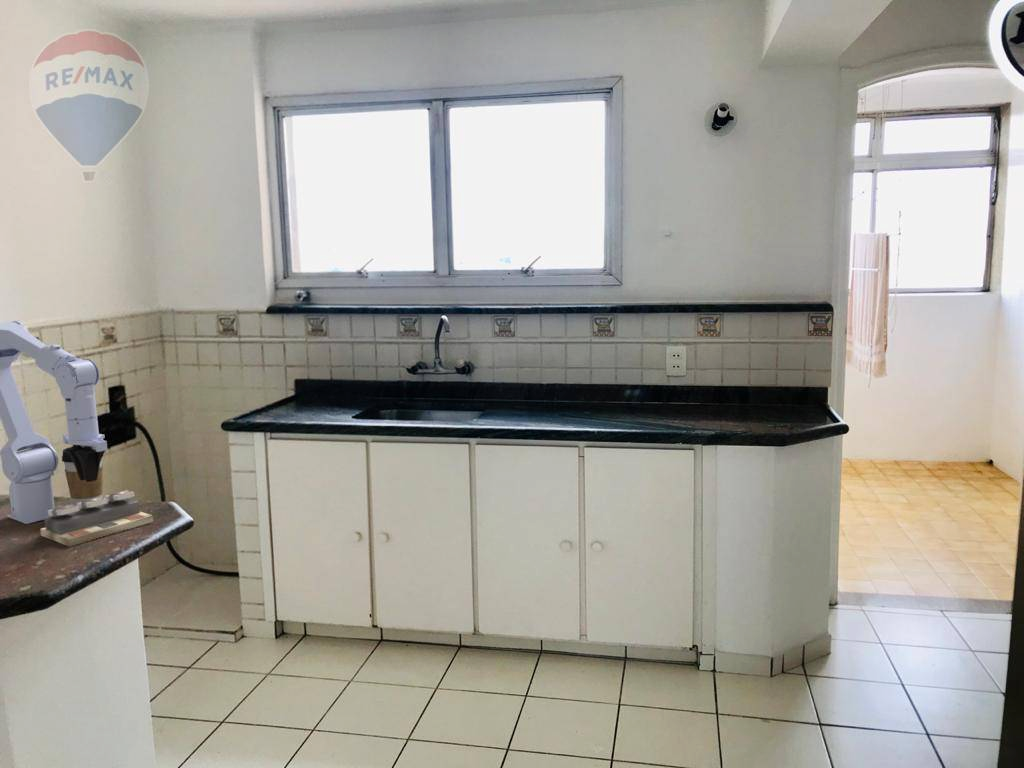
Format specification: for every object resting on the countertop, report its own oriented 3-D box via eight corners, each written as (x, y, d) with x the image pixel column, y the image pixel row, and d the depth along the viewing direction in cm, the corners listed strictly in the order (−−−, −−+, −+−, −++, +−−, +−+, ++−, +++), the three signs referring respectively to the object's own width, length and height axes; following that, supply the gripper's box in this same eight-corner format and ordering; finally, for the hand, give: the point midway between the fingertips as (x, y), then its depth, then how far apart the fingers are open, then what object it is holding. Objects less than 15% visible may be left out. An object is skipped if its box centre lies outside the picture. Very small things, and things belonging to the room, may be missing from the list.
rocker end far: (104, 502, 181) (103, 494, 181) (121, 498, 184) (120, 490, 184) (118, 502, 177) (117, 494, 177) (135, 497, 180) (133, 489, 180)
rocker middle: (77, 509, 176) (75, 501, 176) (94, 505, 179) (93, 496, 179) (90, 509, 173) (89, 501, 172) (108, 504, 176) (107, 496, 175)
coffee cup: (91, 516, 184) (84, 451, 182) (59, 515, 186) (51, 450, 183) (116, 505, 192) (110, 442, 190) (85, 503, 194) (78, 441, 191)
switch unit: (41, 535, 172) (38, 517, 171) (124, 512, 186) (122, 495, 186) (69, 546, 165) (67, 527, 164) (153, 522, 179) (151, 504, 179)
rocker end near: (48, 517, 171) (46, 508, 171) (66, 512, 174) (65, 504, 174) (61, 517, 168) (60, 508, 168) (80, 512, 171) (78, 503, 171)
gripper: (118, 417, 172) (124, 480, 174) (83, 411, 181) (90, 471, 183) (84, 423, 166) (91, 488, 169) (50, 416, 175) (57, 478, 177)
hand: (88, 480), depth 175 cm, fingers closed
